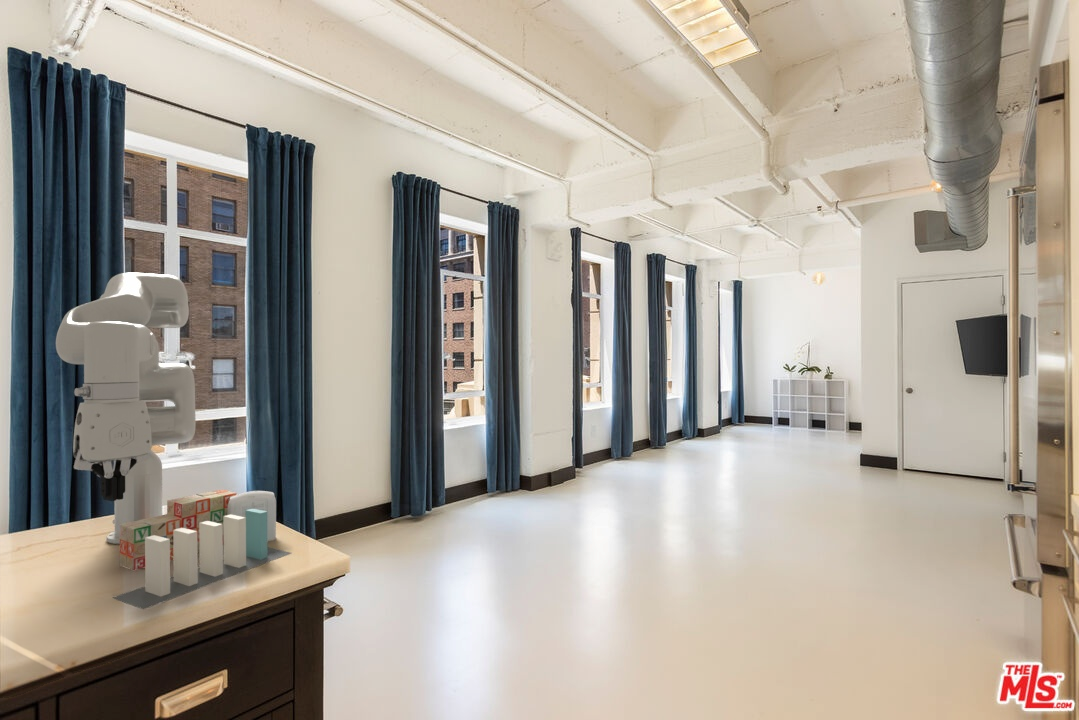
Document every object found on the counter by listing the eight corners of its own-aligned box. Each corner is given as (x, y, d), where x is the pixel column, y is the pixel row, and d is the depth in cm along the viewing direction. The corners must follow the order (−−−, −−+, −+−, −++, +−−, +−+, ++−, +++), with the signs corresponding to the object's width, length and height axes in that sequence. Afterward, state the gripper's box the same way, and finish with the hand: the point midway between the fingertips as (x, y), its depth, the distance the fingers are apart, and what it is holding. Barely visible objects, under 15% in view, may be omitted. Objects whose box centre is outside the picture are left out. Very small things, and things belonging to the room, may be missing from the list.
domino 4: (223, 563, 115) (223, 516, 115) (230, 561, 116) (230, 514, 116) (238, 567, 112) (238, 519, 112) (246, 565, 114) (245, 517, 114)
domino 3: (199, 572, 110) (199, 522, 110) (207, 569, 112) (207, 520, 112) (215, 576, 108) (214, 526, 108) (222, 573, 109) (222, 524, 109)
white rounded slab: (274, 537, 133) (274, 486, 133) (277, 542, 130) (277, 490, 130) (226, 545, 128) (226, 492, 128) (227, 550, 124) (227, 496, 124)
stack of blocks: (133, 574, 111) (132, 514, 111) (119, 568, 114) (118, 509, 114) (237, 543, 129) (237, 491, 129) (223, 538, 133) (222, 488, 132)
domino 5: (245, 555, 119) (245, 510, 119) (252, 553, 121) (252, 508, 121) (260, 559, 117) (260, 513, 117) (267, 557, 118) (267, 511, 118)
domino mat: (112, 600, 99) (112, 597, 99) (262, 548, 126) (262, 545, 126) (143, 612, 94) (143, 609, 94) (292, 555, 121) (292, 552, 121)
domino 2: (173, 581, 106) (173, 529, 106) (182, 578, 107) (181, 527, 107) (189, 586, 104) (188, 533, 103) (197, 583, 105) (197, 531, 105)
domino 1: (145, 591, 101) (144, 537, 101) (154, 587, 103) (154, 535, 103) (160, 596, 99) (160, 541, 99) (170, 593, 101) (169, 539, 100)
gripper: (70, 396, 86) (71, 512, 86) (170, 391, 99) (171, 492, 99) (47, 395, 89) (48, 507, 89) (147, 390, 103) (148, 488, 103)
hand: (113, 499), depth 94 cm, fingers closed
